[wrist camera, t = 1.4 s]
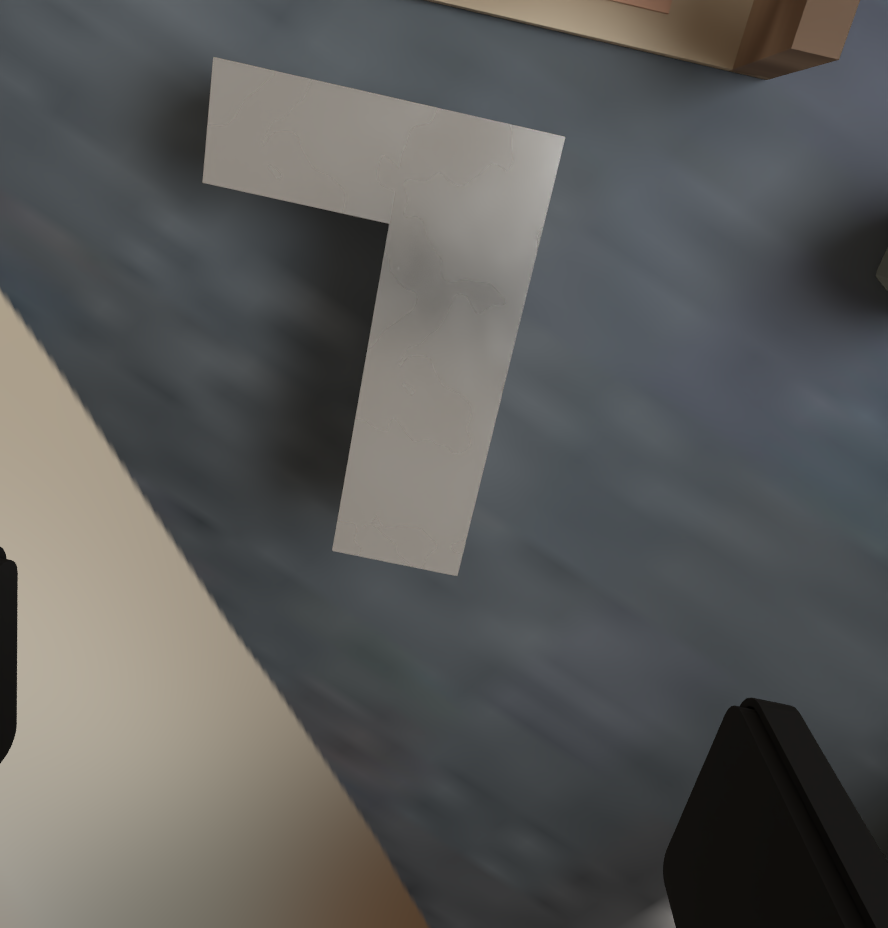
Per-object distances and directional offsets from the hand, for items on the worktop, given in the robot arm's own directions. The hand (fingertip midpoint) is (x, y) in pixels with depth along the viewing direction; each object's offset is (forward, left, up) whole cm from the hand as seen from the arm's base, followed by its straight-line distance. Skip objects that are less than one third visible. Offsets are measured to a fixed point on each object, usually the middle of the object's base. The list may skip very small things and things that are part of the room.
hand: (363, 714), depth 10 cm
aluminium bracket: (+1, +2, -18) cm, 18 cm away
